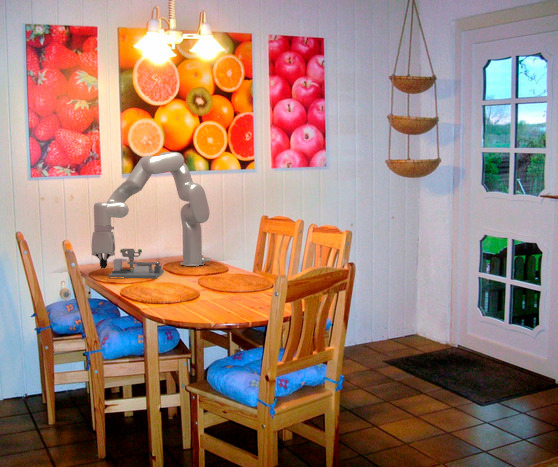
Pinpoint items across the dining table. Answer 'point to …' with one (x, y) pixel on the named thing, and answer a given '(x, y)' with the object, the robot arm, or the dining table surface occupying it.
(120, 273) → the socket board
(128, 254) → the mechanical component
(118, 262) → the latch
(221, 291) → the dining table surface
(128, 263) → the silver metal bar
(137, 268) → the heatsink
